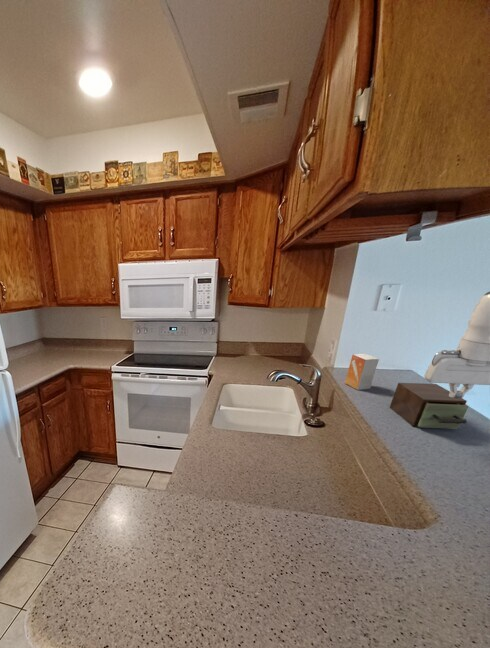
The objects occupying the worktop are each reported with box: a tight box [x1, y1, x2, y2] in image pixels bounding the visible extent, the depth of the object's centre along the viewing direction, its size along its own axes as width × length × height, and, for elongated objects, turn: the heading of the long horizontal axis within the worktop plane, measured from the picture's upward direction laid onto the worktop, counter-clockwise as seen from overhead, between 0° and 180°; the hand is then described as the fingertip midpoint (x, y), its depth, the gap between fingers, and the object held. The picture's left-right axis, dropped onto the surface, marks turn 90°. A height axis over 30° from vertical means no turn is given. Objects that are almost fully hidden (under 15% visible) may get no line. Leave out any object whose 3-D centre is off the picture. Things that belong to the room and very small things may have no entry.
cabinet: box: [389, 382, 468, 428], centre depth 111 cm, size 16×13×10 cm
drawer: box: [417, 402, 469, 430], centre depth 107 cm, size 19×11×8 cm, turn 174°
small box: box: [344, 353, 380, 391], centre depth 137 cm, size 8×6×13 cm
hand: (455, 397), depth 98 cm, fingers closed
